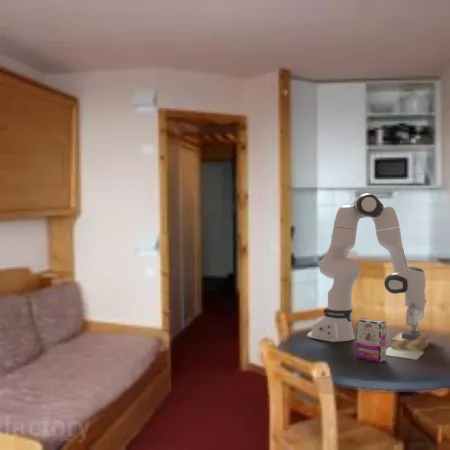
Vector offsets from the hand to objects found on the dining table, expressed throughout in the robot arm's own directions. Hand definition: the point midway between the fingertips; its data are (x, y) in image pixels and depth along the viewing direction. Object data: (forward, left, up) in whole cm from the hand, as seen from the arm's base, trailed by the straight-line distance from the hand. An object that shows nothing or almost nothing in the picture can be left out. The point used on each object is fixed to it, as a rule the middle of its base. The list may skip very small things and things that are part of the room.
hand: (414, 331), depth 258 cm
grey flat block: (0, -8, -1) cm, 8 cm away
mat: (0, -23, -5) cm, 24 cm away
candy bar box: (-9, -38, -5) cm, 40 cm away
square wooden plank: (0, -9, -5) cm, 10 cm away
